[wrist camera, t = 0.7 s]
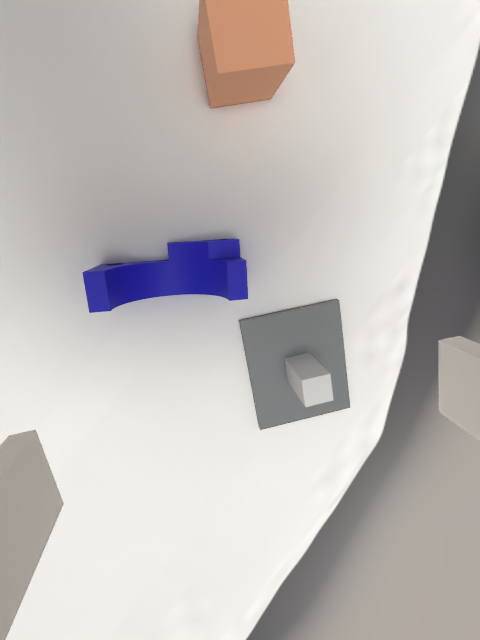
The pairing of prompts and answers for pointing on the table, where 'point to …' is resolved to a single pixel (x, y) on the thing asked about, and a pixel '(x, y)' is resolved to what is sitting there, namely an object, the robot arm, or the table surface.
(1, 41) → the table surface
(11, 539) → the robot arm
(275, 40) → the peach clay cube
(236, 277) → the blue arch bracket
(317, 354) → the stand
